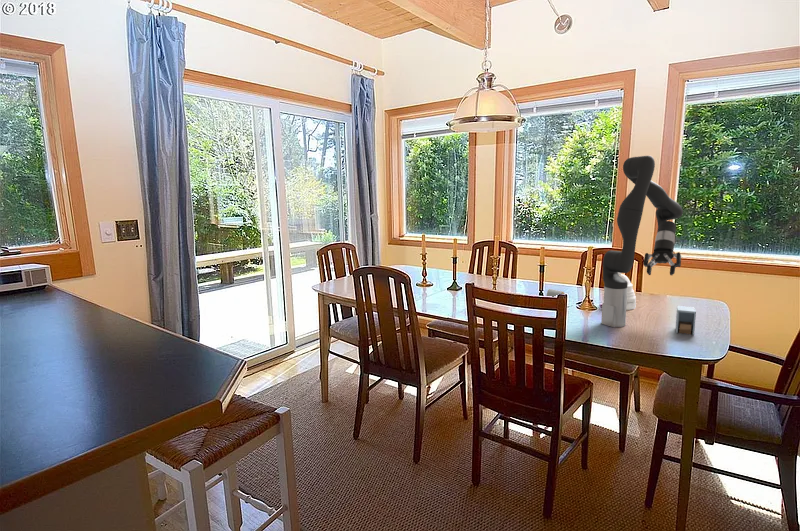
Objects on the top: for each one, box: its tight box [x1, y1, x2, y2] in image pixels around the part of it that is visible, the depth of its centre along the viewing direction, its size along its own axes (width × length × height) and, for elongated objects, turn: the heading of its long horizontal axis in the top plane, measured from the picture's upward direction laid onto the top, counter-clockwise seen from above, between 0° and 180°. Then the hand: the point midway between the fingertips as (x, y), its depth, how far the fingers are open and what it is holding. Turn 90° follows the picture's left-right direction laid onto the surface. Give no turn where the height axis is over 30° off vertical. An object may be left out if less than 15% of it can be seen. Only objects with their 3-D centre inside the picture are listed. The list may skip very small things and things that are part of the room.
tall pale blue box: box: [675, 305, 697, 336], centre depth 178 cm, size 7×6×10 cm
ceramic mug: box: [546, 288, 566, 297], centre depth 230 cm, size 11×8×8 cm
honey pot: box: [618, 272, 637, 311], centre depth 217 cm, size 13×13×18 cm
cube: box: [678, 321, 692, 335], centre depth 178 cm, size 4×4×4 cm
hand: (660, 274), depth 188 cm, fingers open, 8 cm apart
